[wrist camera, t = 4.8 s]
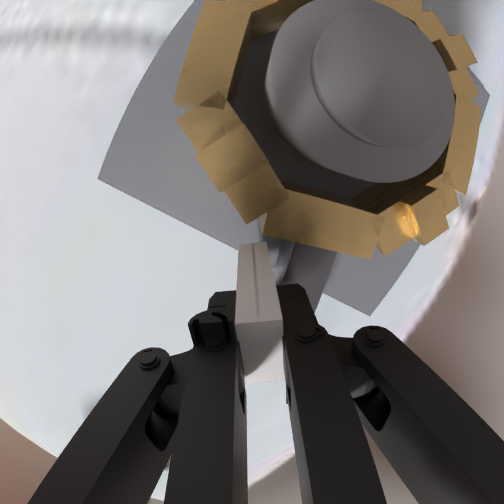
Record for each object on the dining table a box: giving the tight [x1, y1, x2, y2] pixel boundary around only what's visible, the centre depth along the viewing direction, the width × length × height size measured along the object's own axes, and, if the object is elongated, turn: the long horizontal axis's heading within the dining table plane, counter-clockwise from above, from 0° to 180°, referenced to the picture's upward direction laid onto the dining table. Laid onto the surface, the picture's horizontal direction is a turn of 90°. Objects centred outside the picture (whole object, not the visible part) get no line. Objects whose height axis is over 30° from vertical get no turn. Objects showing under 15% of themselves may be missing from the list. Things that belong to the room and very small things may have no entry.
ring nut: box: [173, 0, 481, 313], centre depth 11 cm, size 21×14×4 cm, turn 167°
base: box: [98, 0, 490, 316], centre depth 10 cm, size 20×20×8 cm
